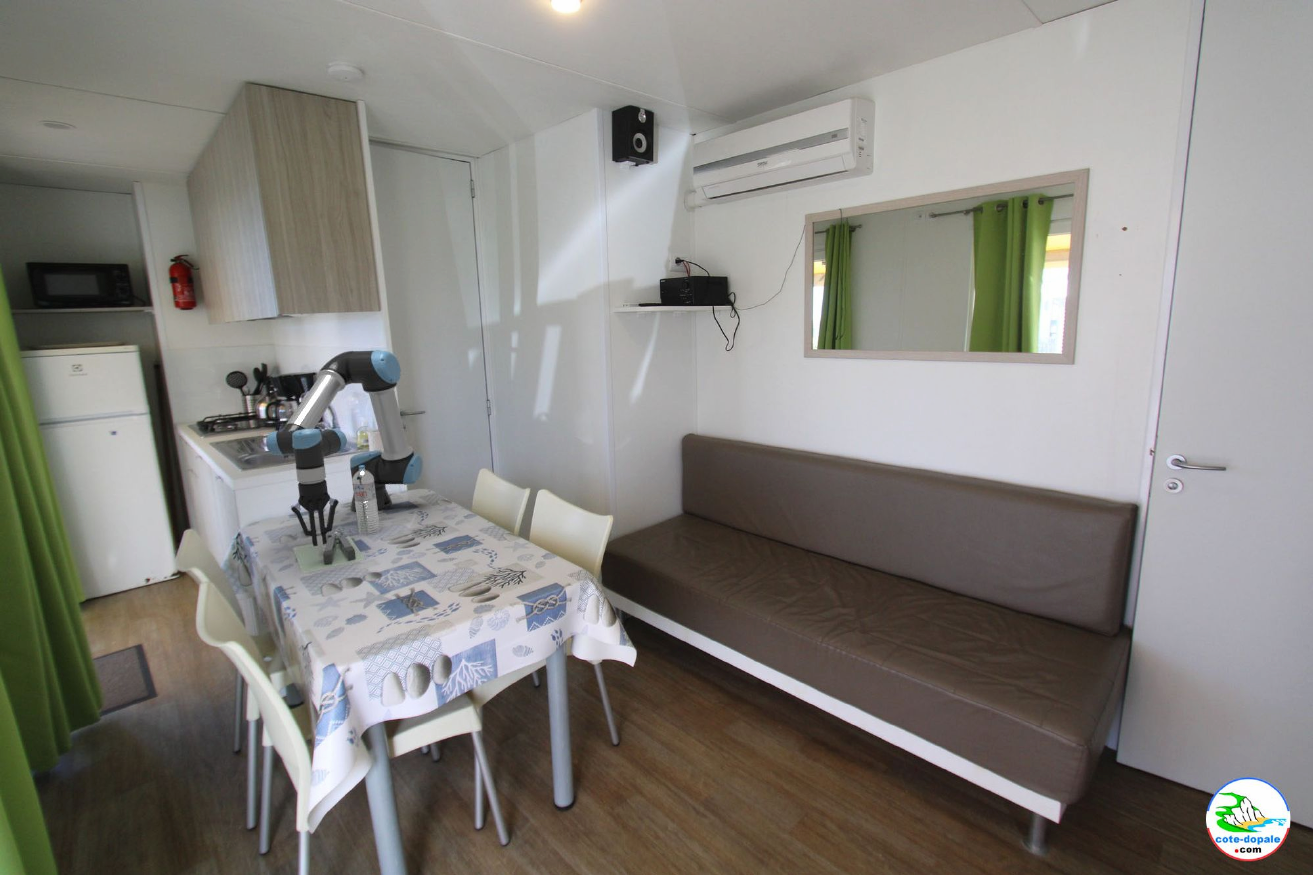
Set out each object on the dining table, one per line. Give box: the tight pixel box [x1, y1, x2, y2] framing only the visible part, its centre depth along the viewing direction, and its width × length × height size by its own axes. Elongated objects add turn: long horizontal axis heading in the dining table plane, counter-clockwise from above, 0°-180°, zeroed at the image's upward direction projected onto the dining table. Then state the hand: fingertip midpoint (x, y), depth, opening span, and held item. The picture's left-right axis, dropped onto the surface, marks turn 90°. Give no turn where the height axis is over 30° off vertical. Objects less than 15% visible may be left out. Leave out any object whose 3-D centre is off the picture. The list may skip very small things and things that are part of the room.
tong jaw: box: [323, 537, 336, 565], centre depth 193 cm, size 2×17×3 cm, turn 23°
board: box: [292, 535, 366, 574], centre depth 195 cm, size 17×26×1 cm, turn 36°
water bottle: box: [351, 465, 381, 536], centre depth 212 cm, size 7×7×25 cm
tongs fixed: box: [326, 529, 356, 560], centre depth 197 cm, size 5×24×4 cm, turn 36°
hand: (321, 554), depth 188 cm, fingers closed
